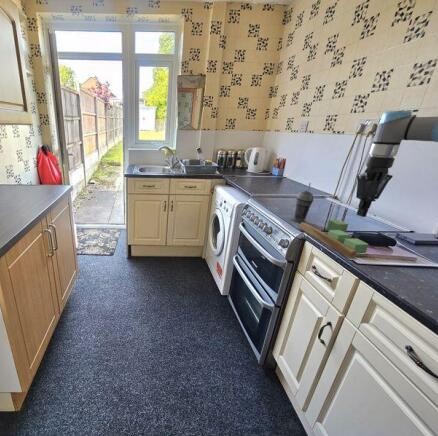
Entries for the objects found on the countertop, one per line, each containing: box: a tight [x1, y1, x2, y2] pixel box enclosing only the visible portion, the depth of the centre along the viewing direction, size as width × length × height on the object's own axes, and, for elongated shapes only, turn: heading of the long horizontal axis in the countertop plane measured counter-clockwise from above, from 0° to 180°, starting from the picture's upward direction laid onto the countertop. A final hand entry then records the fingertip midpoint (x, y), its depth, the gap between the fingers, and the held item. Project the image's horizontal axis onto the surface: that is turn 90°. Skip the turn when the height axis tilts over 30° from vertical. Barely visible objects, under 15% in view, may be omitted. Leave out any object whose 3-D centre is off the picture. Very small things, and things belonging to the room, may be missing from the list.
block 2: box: [344, 238, 370, 257], centre depth 93 cm, size 5×5×5 cm
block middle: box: [327, 230, 351, 244], centre depth 101 cm, size 5×5×5 cm
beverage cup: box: [293, 182, 314, 224], centre depth 121 cm, size 7×7×20 cm
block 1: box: [326, 219, 349, 233], centre depth 112 cm, size 5×5×5 cm
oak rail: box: [299, 221, 357, 260], centre depth 103 cm, size 2×28×3 cm, turn 5°
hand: (360, 215), depth 99 cm, fingers closed
